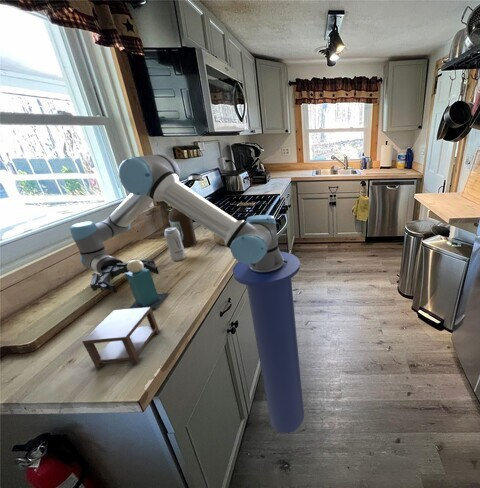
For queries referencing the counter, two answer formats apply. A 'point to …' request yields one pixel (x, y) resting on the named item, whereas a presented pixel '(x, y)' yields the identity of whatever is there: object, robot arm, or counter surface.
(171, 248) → the energy drink can
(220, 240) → the low-poly potato
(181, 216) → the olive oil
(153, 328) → the small wooden table
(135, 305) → the coaster
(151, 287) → the toy
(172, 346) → the counter surface
